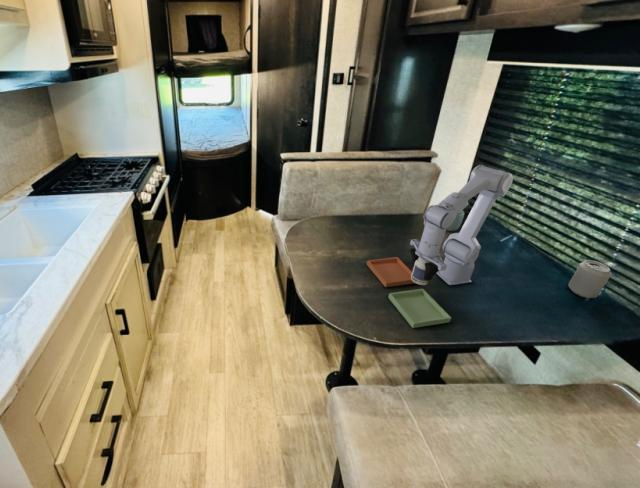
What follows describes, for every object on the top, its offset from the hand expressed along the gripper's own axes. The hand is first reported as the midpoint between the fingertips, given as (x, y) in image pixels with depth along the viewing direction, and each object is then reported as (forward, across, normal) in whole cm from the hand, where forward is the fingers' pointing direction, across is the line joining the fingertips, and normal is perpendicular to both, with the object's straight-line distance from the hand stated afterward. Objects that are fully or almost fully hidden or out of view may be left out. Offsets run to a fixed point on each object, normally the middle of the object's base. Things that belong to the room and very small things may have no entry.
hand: (421, 273), depth 107 cm
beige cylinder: (+10, +8, +60) cm, 61 cm away
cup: (+10, -36, +45) cm, 58 cm away
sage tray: (+10, +6, -3) cm, 12 cm away
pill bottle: (+3, 0, 0) cm, 3 cm away
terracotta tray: (+10, -12, -1) cm, 16 cm away
